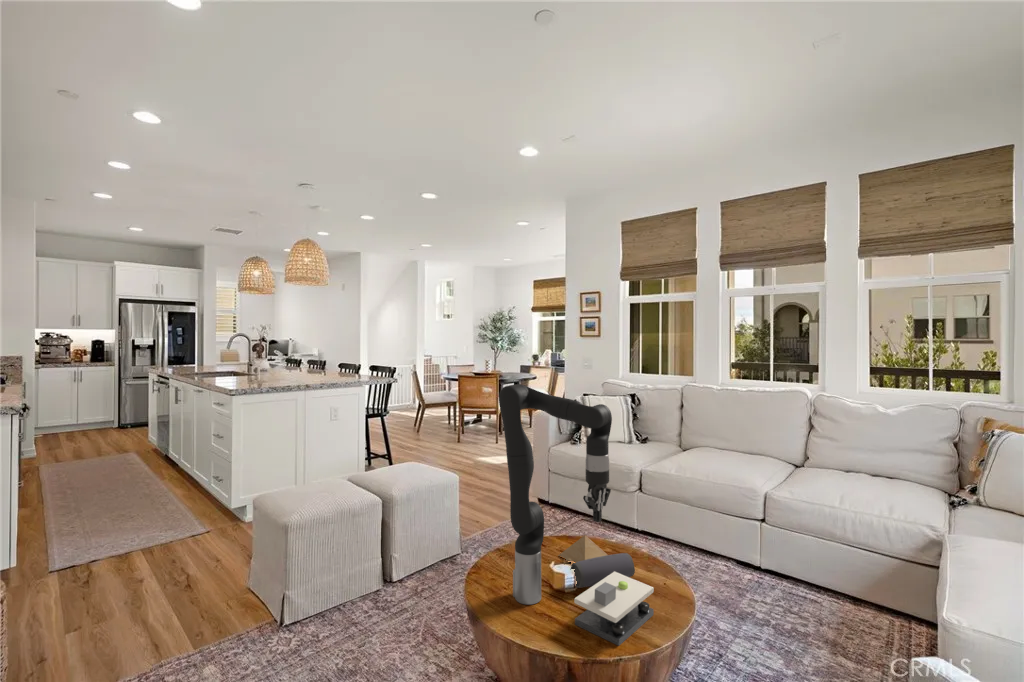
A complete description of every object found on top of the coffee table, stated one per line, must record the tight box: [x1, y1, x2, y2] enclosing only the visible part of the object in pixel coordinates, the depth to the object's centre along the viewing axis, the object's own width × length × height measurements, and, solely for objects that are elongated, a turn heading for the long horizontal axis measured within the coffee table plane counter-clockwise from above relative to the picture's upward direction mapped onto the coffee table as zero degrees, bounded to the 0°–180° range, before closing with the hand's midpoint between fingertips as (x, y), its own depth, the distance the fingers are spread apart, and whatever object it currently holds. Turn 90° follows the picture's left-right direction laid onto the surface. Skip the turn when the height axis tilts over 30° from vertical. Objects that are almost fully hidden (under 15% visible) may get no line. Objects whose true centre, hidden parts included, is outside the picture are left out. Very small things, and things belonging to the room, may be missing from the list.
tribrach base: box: [574, 601, 655, 647], centre depth 163 cm, size 16×22×6 cm
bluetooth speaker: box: [570, 552, 636, 589], centre depth 186 cm, size 23×9×10 cm, turn 111°
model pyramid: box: [557, 534, 608, 562], centre depth 208 cm, size 17×17×10 cm
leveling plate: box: [574, 571, 655, 623], centre depth 163 cm, size 15×24×7 cm, turn 137°
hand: (597, 520), depth 161 cm, fingers closed
